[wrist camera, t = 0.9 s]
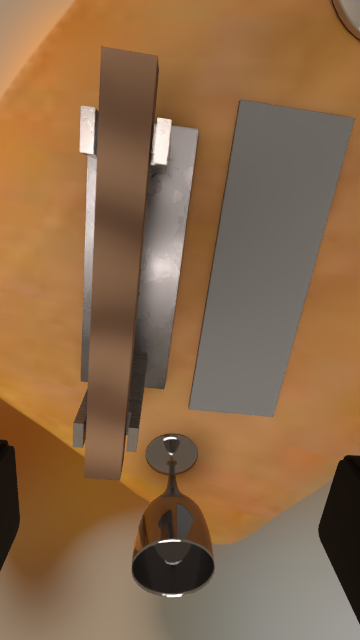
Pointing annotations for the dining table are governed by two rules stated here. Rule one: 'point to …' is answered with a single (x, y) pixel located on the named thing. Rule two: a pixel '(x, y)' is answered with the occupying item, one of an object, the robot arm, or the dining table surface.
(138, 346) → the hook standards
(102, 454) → the walnut rail
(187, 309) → the dining table surface
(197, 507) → the wine glass
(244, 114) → the grey mat
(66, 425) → the dining table surface
